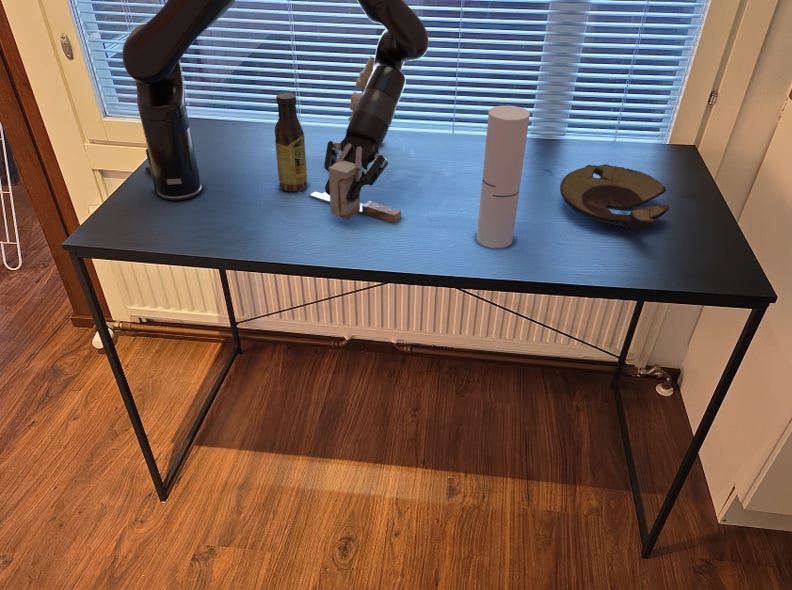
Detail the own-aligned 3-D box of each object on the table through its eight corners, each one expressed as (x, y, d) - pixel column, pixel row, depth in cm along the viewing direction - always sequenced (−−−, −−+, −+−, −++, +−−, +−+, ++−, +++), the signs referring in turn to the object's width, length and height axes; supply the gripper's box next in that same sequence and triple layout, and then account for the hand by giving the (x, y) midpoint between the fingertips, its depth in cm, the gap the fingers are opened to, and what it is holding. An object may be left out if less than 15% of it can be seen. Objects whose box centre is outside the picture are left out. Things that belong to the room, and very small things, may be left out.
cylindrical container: (489, 226, 136) (503, 102, 120) (519, 238, 132) (537, 111, 116) (469, 239, 132) (480, 113, 116) (499, 252, 128) (515, 123, 112)
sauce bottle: (302, 194, 146) (294, 102, 133) (275, 191, 147) (265, 100, 134) (311, 181, 151) (304, 92, 138) (285, 179, 152) (276, 89, 139)
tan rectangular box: (348, 220, 133) (345, 173, 127) (330, 215, 135) (326, 168, 129) (361, 209, 137) (360, 163, 130) (344, 204, 139) (341, 158, 132)
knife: (309, 197, 145) (308, 188, 144) (318, 191, 147) (318, 183, 146) (393, 224, 136) (393, 215, 135) (401, 218, 138) (402, 209, 137)
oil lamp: (662, 193, 149) (671, 160, 144) (666, 260, 127) (678, 224, 122) (561, 180, 153) (567, 148, 148) (548, 243, 131) (555, 208, 126)
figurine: (383, 135, 172) (382, 54, 159) (384, 148, 166) (384, 64, 153) (349, 136, 172) (345, 54, 159) (349, 149, 165) (345, 64, 152)
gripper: (334, 102, 131) (301, 181, 131) (395, 116, 126) (360, 199, 126) (351, 120, 138) (319, 196, 138) (409, 135, 132) (376, 214, 132)
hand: (339, 197), depth 132 cm, fingers closed on tan rectangular box, 4 cm apart
